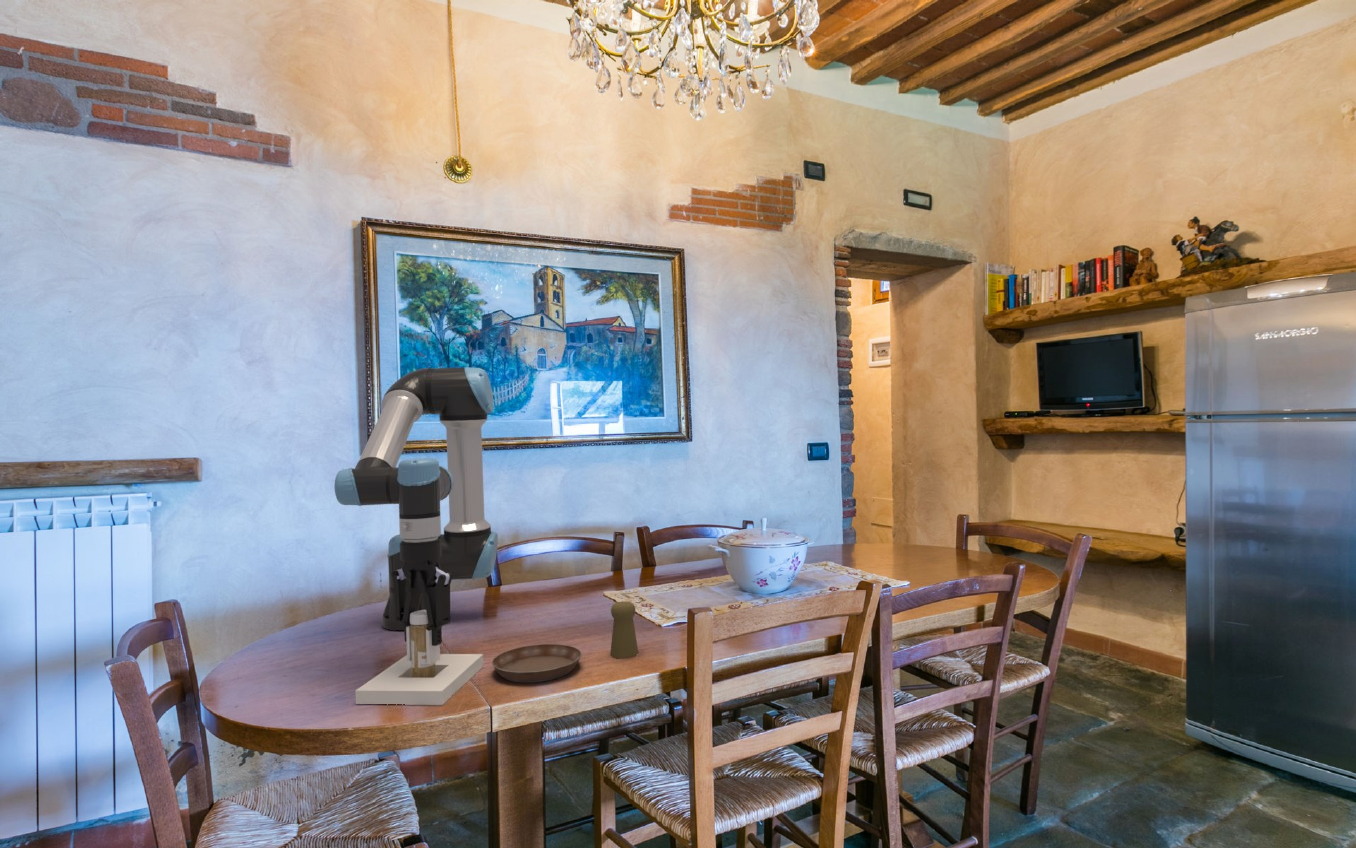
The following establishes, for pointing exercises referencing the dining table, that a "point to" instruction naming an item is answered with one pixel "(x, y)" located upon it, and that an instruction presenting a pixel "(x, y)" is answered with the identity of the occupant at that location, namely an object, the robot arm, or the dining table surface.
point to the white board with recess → (420, 682)
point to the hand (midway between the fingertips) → (423, 660)
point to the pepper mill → (623, 631)
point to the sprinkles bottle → (420, 646)
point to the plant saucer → (536, 662)
